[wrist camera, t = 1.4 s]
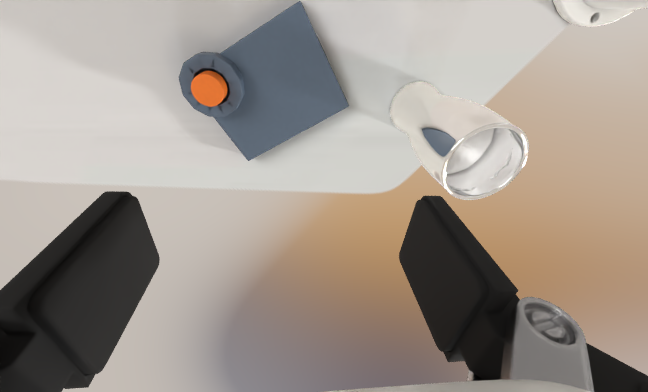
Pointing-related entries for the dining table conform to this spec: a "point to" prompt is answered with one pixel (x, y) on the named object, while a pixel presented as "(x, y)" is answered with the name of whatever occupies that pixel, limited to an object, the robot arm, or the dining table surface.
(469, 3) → the dining table surface
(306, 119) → the scale
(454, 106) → the beer glass
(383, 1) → the dining table surface
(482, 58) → the dining table surface
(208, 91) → the button
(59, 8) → the dining table surface
